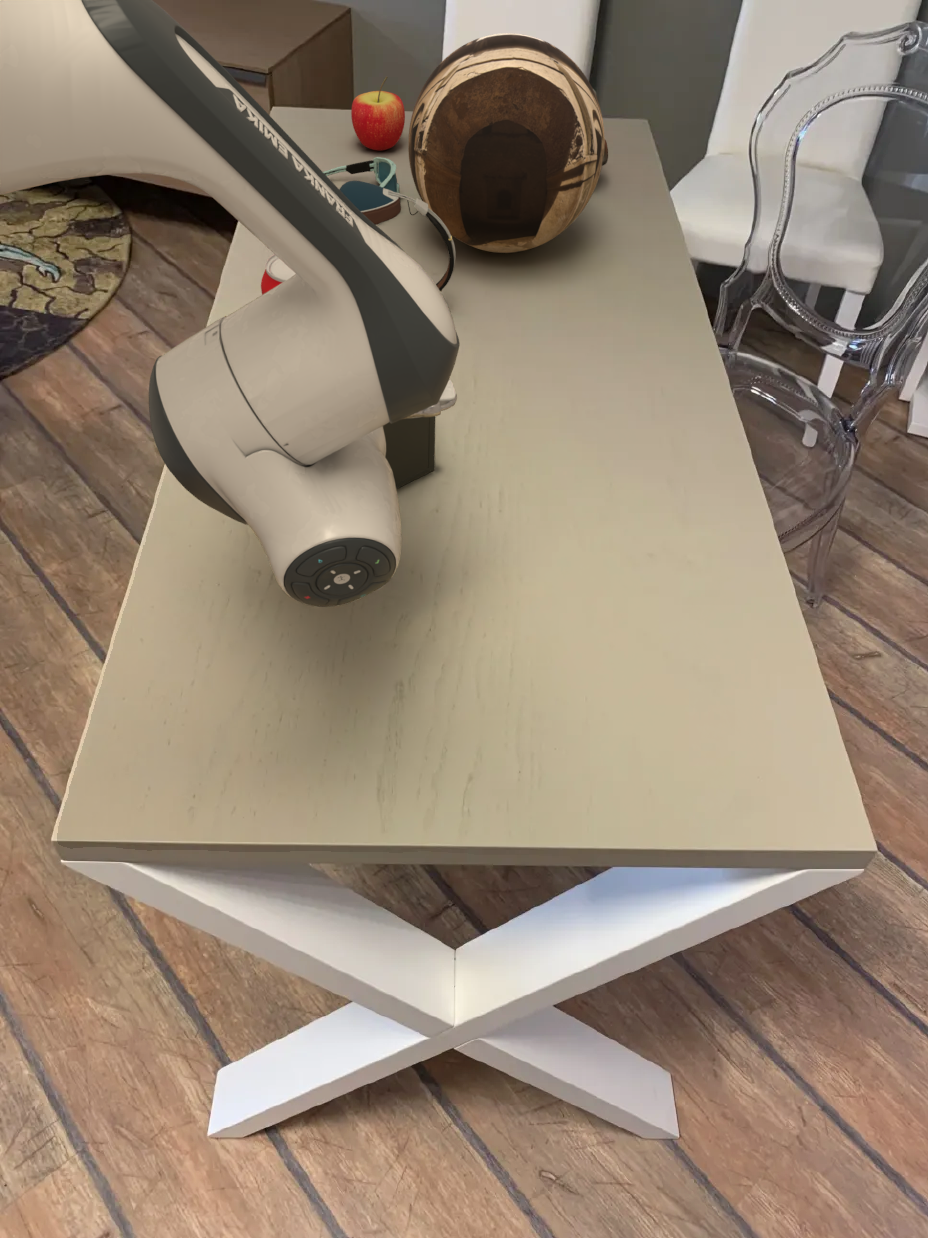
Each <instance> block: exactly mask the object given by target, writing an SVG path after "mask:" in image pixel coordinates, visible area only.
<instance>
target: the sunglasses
mask: <svg viewBox="0 0 928 1238" xmlns="http://www.w3.org/2000/svg"><path fill="white" fill-rule="evenodd" d="M396 170H397V164H396V163H395V162H394V161H393V160H391V159H390V158H387V157H380V156H376V157H374V158H372V160H366V161H360V162H355V163H351V164H347V165H340V166H337V167H333V168H331V169H328V170H324V171H322V172H323V173H324V174H325V175H326V176H327V177H328V176H332V175H335V174H338V173H344V172H347V173H348V174H351V175H356V174H361V173H367V172H369V173H370V172H373V173H374V177H375V180H376V182H377V183H378V184H379V186H380V187H383V188H386V189H388V190H390V191H393V192H396V193H399V194H400V184H399V183H398V178H397V173H396Z"/></svg>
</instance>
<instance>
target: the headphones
mask: <svg viewBox="0 0 928 1238" xmlns="http://www.w3.org/2000/svg"><path fill="white" fill-rule="evenodd" d="M338 189H339V190H340V191H341V192H342V193H343V194H344V195H345V196H346V197H347V198H348V199H349V200H350V201H351V202H352V203H353V204H354V205H355V206H356V207H357V208H358V209H359V210H360V211H361V212H362V213H363V214H364V215H365V216H366V217H367V218H368V219H369V220H370V221H371V222H373V223H374V224H375V225H376V226H377V225H379V224H382V223H386V222H387V221H388V222H389V221H390V220H392V219H395V218H396V217H397V216H399V215H400V213H401V211H402V203H401V199H403V200H406V201H407V206H408V212H409V215H411V216H415V215H417V214H418V213H420V214H421V216H423V217H426V218H427V219H428V220H429V221H430V222H431V224H432V225H433V227H434V228H435V229H436V230H437V232H438V233H439V234H440V236H441V239H442V241H444V244H445V246H446V249H447V253H448V257H449V258H448V265H447V269H446V270H445V272H444V274H443V276H442V277H441V278H440V280H439V281H438V282H437V283H435V284H436V286H437V287H438V289H439V290H440V292H441V293H442V291H443V289H444V288H445V287H446V286H447V285H448V283H449V282H450V280H451V278H452V275H453V274H454V270H455V266H456V246H455V242H454V238H453V236H452V235H451V234H450V232H449V230H448V229H447V227H446V226H445V224H444V223H443V222H442V220H441V219H440V218H439V217H438V216H437V215H436V214H435V213H434V212H433V211H432V210H430V209H429V208H428V204H427V203H425V202H423V201H422V200H421V198H416V199H414V198H413V197H410V196H409V195H405V194H403V193H400V192H399V193H396V192H393V191H390V190H388V189H386V188H383V187H380V185H377V184H375V183H371V182H367V181H363V180H349V181H346V182H344V183H343V184H342V185H341V186H340V187H339V188H338ZM410 203H412V204H414V205H413V207H414V209H416V210H417V211H416V212H415V213H412V211H411V208H410Z"/></svg>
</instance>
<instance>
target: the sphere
mask: <svg viewBox="0 0 928 1238" xmlns="http://www.w3.org/2000/svg"><path fill="white" fill-rule="evenodd" d="M593 89H594V88H593V86H592V85H591V83H590V80H589V79H588V78H587V76H586V75H585V73H584V72H583V70H582V69H581V68H580V67H579V66H578V64H577V63H576V62H575V61H574V60H573V59H572V58H571V57H570V56H569V55H568V54H566V53H565V52H564V51H562V50H561V49H560V48H559V47H557V46H555V45H553V44H552V43H549V42H548V41H545V40H543V39H541V38H538V37H535V36H532V35H528V34H522V33H513V32H505V33H502V32H501V33H494V34H493V33H492V34H490V35H489V34H488V35H485V36H481V37H479V38H476V39H472V40H471V41H469V42H467V43H465V44H463V45H461V46H460V47H458V48H457V49H455V50H454V51H452V52H451V53H450V54H449V55H447V56H446V57H445V58H444V59H443V60H442V61H441V62H440V63H439V64H438V65H437V66H436V68H434V70H433V71H432V72H431V74H430V75H429V76H428V78H427V79H426V81H425V82H424V84H423V86H422V88H421V90H420V92H419V94H418V97H417V99H416V101H415V104H414V106H413V110H412V114H411V117H410V121H409V122H410V123H409V130H408V140H407V148H408V149H407V151H408V162H409V168H410V173H411V176H412V181H413V183H414V186H415V189H416V192H417V194H418V195H419V199H420V200H421V201H423V202H425V203H427V204H428V208H429V209H430V210H432V211H433V212H434V213H435V214H436V215H437V216H438V217H439V218H440V219H441V220H442V222H443V223H444V224H445V226H446V227H447V229H448V230H449V232H450V234H451V236H452V238H455V239H456V240H458V241H459V242H461V243H463V244H465V245H468V246H470V247H473V248H475V249H477V250H482V251H485V252H490V253H498V254H499V253H501V254H502V253H503V254H504V253H505V254H508V253H519V252H523V251H529V250H530V249H534V248H537V247H540V246H542V245H544V244H546V243H548V242H549V241H552V240H553V239H555V238H556V237H557V236H559V235H560V234H562V233H563V232H564V231H566V229H568V228H569V227H570V226H571V225H572V224H573V223H574V222H575V221H576V219H577V218H578V217H579V216H580V214H581V213H582V212H583V211H584V209H585V208H586V207H587V204H588V203H589V201H590V199H592V198H591V197H592V195H593V193H594V191H595V189H596V187H597V184H598V182H599V179H600V175H601V171H602V167H603V166H602V163H603V157H604V144H605V140H606V138H605V127H604V126H605V125H604V120H603V114H602V110H601V106H600V103H599V100H598V96H597V97H596V95H595V93H594V91H595V89H594V90H593Z"/></svg>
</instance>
